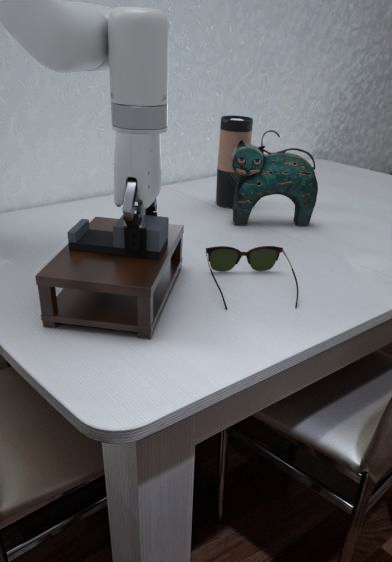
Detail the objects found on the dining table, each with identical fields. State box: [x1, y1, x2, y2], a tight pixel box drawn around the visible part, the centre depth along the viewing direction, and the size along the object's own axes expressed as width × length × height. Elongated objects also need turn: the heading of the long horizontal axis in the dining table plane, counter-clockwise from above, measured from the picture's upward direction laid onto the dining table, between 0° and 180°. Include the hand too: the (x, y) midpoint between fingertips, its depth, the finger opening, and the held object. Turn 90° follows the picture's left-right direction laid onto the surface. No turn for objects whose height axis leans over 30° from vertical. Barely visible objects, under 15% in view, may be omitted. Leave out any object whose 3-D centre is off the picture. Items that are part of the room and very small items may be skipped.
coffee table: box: [35, 216, 185, 340], centre depth 80 cm, size 16×26×8 cm, turn 172°
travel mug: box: [215, 114, 254, 209], centre depth 122 cm, size 8×8×20 cm
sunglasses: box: [205, 245, 299, 311], centre depth 85 cm, size 14×15×5 cm
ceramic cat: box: [231, 129, 319, 227], centre depth 111 cm, size 20×6×20 cm, turn 95°
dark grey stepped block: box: [67, 214, 170, 259], centre depth 77 cm, size 14×7×4 cm, turn 82°
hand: (141, 243), depth 77 cm, fingers closed on dark grey stepped block, 6 cm apart
